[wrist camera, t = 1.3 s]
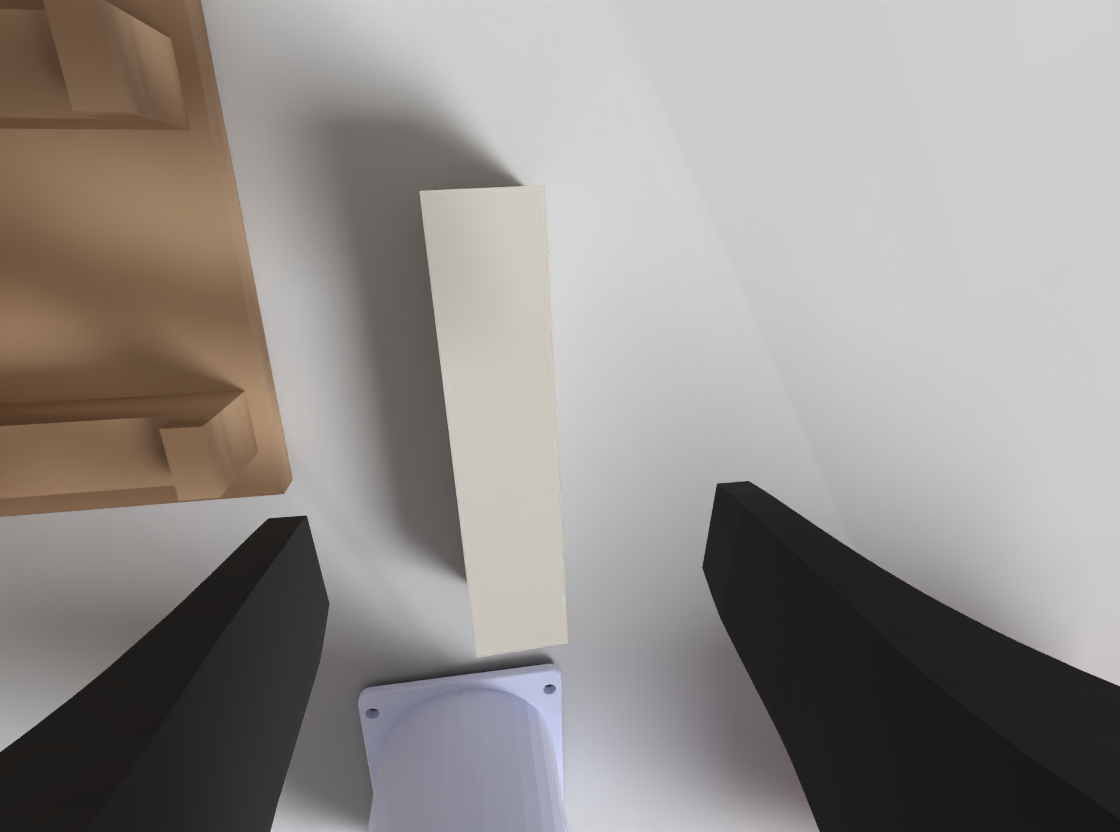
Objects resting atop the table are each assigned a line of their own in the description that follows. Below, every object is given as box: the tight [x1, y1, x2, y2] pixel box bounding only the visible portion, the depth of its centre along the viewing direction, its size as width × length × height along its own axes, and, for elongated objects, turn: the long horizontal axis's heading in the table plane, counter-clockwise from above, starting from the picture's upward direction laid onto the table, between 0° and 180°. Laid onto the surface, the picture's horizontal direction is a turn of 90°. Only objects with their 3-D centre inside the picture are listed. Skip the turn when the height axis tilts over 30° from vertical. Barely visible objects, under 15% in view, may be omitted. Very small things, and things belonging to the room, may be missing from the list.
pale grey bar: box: [419, 185, 568, 658], centre depth 18 cm, size 14×3×4 cm, turn 1°
